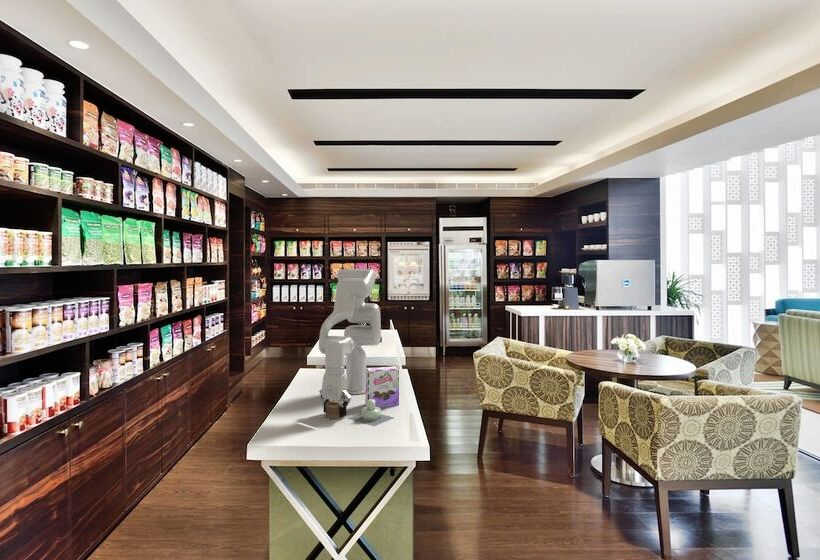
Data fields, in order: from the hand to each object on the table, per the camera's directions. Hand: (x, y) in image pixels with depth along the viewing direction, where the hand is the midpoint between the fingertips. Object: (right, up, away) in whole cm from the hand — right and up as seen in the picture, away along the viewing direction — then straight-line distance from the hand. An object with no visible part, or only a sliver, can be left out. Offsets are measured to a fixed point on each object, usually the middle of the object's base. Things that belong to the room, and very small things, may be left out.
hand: (334, 413), depth 185 cm
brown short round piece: (0, -1, 0) cm, 2 cm away
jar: (+15, -1, -2) cm, 15 cm away
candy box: (+18, -1, +15) cm, 24 cm away
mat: (+15, -2, -2) cm, 15 cm away
